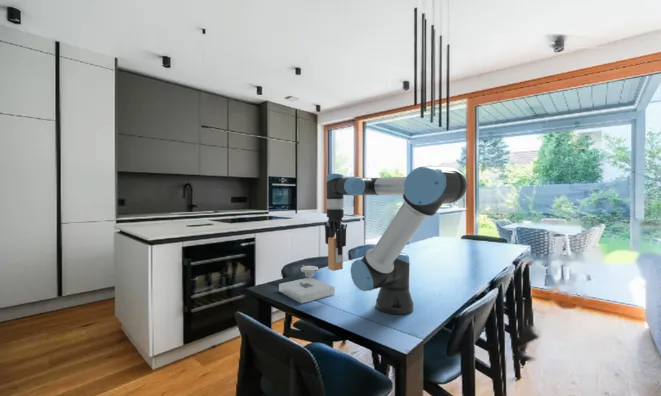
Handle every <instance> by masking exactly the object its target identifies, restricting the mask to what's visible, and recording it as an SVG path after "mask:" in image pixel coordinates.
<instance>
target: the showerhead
mask: <svg viewBox="0 0 661 396" xmlns="http://www.w3.org/2000/svg"><path fill="white" fill-rule="evenodd" d="M318 271H319V267H318V266H316V265H304V264H302V265H301V267H300V272H301V273H304V277H305V278H309V277H311V278H313V277H314V276H315V273H317V272H318Z"/></svg>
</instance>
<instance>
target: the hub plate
mask: <svg viewBox="0 0 661 396" xmlns="http://www.w3.org/2000/svg"><path fill="white" fill-rule="evenodd" d="M335 289H336V288H335V286H333V285H331V284H328V283H326V282H323V281H320V280H319V279H315V278H313V277H309V278H307V277H305V278H299V279H295V280H292V281H287V282H282V283H279V284H278V291H279V292H280V293H282V294H283V295H285V296H287V297H288V298H290V299H293V300H294V301H297V303H300V304H301V305H302V304H305V303H309V302H313V301H316V300H320V299H325V298H327V297H331V296H334V295H336V293H335Z"/></svg>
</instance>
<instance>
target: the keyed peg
mask: <svg viewBox="0 0 661 396" xmlns="http://www.w3.org/2000/svg"><path fill="white" fill-rule="evenodd" d="M336 247H337V242H336V236H335V237H329V238H328V244H327V249H328V250H327V262H328V263H327V265H328V266H327V267H328V268H327V269H328V270H330V271H333V272H335V271H339V270H343V268H344V267H343V266H344V265H343V261H344V260H343V259H344V258H343V252H344V251H343V248H344V247H342V262H339V263H336Z"/></svg>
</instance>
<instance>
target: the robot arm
mask: <svg viewBox="0 0 661 396" xmlns="http://www.w3.org/2000/svg"><path fill="white" fill-rule="evenodd" d="M325 185H326V208H327V209H326V218H328V219H327V221H324V223H323V224H324V235H325V237H324V239H325V240H324V242H325V244H326V245H328V238H329V237H336V242H337V247H336V263H339V262H342V247H343V248H344V247H346V246H347V228H348V224H347V223H344V221H343V218H344V217H345V216H344V213H345V211H344V206H345V204H344V196H354V197H355V196H397V197H399V196H400V197H401V196H402V200H403V203H402V204H401V206H400V208H399V209H398V211H397V212H396V213H395V214H394V217H393V219H392V220H391V221H390V223H389V224H388V226H387V227H386V229H385V231H384V232H383V233H382V235H381V237H380V238H379V240H378V241H377V243H376V244H375V246H374V247H373V248H368V249H367V251H366V252H365V254H364V255H363V257H362V258H360V259H356V260H355V261H353V262H352V263H351V266H350V275H351V279H352V282H353V284H354V285H355V287H356V288H357V289H358V290H359V291H362V292H369V291H373V290H376V289H379V291H378V293H377V297H376V301H375V308H376V309H377V310H378V311H381V312H383V313H386V314H389V315H390V314H391V315H406V314H411V313H412V312H413V311H414V302H413V301H414V300H413V299H412V295H411V294H412V293H411V292H410V265H411V263H410V256H409V254H408V253H405V252H402V251H403V250H404V249H405V248H406V246H407V245H408V243H409V242H410V240H411V239H412V237H413V236H414V235H415V233H416V232H417V231H418V229H420V226H422V224H423V223H424V222H425V220H426V219H427V217H433V216H435V214H437V212H438V211H439V210H440V208H441V206H442V205H444V204H452V203H455V202H458V201H459V200H461V199H462V198H463V197H464V195H465V194H466V191H467V188H468V187H467V186H468V183H467V179H466V177H465V175H464V174H463V173H462V172H461V171H459V170H457V169H456V168H452V167H441V166H440V167H439V166H438V167H437V166H434V165H425V166H419V167H416V168H414V169H412V170H411V171H410V172H409V173H408V174H407V175H406V176H397V177H396V176H390V177H360V176H348V177H344V174H343V173H328V174H327V175H326V183H325Z"/></svg>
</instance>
